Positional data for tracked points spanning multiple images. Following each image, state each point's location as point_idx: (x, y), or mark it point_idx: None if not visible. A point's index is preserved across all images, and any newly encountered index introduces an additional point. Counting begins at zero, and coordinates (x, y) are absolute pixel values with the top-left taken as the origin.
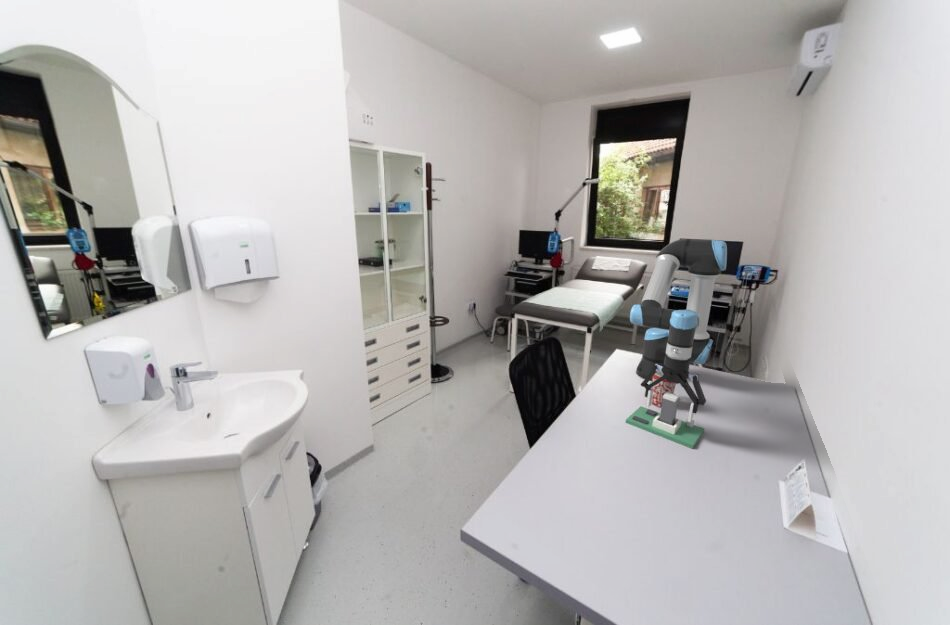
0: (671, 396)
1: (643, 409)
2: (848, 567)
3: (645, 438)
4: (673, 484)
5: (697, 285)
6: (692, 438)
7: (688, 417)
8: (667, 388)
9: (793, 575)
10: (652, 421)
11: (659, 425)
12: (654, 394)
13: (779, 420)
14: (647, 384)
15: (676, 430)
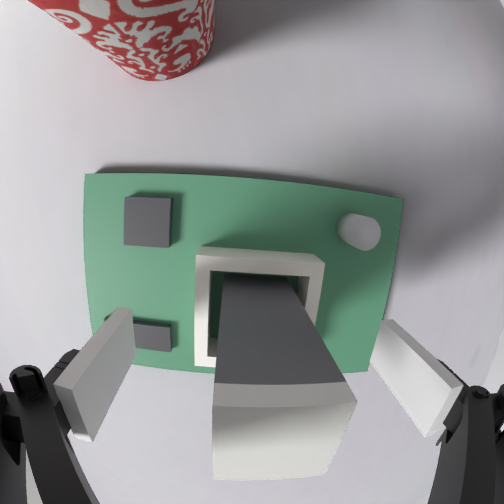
0: (284, 461)
1: (105, 200)
2: None
3: (207, 408)
4: (316, 489)
5: None
6: (366, 326)
7: (380, 375)
8: (165, 8)
9: (430, 482)
10: (183, 302)
11: None
12: (109, 56)
13: (490, 14)
14: (21, 427)
15: None
